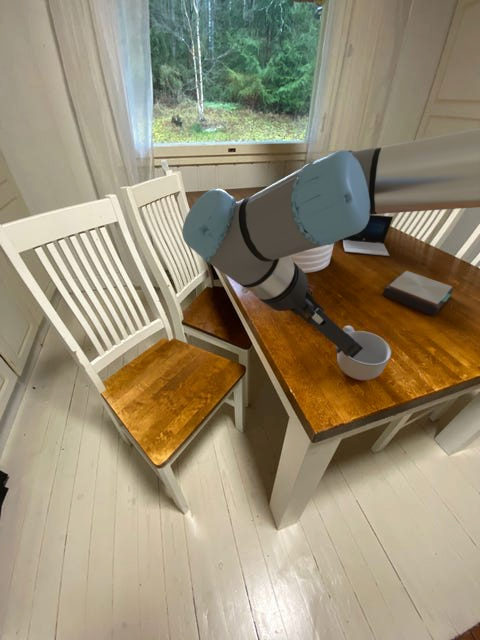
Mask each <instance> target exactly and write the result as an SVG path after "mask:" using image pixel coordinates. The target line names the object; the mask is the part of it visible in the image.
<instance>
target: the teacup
mask: <svg viewBox="0 0 480 640" xmlns="http://www.w3.org/2000/svg"><path fill="white" fill-rule="evenodd" d="M342 330H343V331H344V332H345V333H346V334H348V335H350V336H351V337H352V338H353V339H354V340H355V341H356V342H358V343H359V345H360V346H361V347H363V349H362V350H361V351H360V352H359V353H358V354H357V355H355V356H354V357H353V358H351V357H350V356H347V355H345V354H344V353H343V352H342V351H341V352H340V353H338V352H337V355H336V361H337V364H338V367H339V368H340V370H341V372H343V373H344V374H345V375H346V376H348V377H350V378H352V379H355V380H359V381H370V380H374V379H376V378H378V377H379V376H380V375H381V374H382V373H383V371H384V369H385V368H386V366H387V363H388V362H389V361H390V359H391V357H392V350H391V347H390V345H389V344H388V342H387V341H386V340H385V339H384V338H382V337H381V336H379V335H377V334H375V333H372V332H369V331H363V330H355V328H354V327H353V326H352V325H345V326H344V327H343V328H342Z"/></svg>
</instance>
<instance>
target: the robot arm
mask: <svg viewBox="0 0 480 640" xmlns="http://www.w3.org/2000/svg"><path fill="white" fill-rule="evenodd" d="M473 208H480V127H479V128H473V129H467V130H463V131H457V132H452V133H451V132H450V133H446V134H440V135H435V136H431V137H425V138H419V139H414V140H408V141H404V142H398V143H392V144H386V145H383V146H381V147H374V148H373V147H371V148H366V149H361V150H350V149H349V150H345V149H341V150H337V151H334V152H332V153H330V154H328V155H326V156H324V157H319V158H317V159H315V160H313V161H309V163H307V164H305V165H304V166H303V167H302V168H300V169H298V170H295V171H294V172H292V173H291V174H288V175H287V176H285V177H283V178H282V179H280V180H278V181H276V182H274V183H273V184H271V185H269V186H267V187H266V188H263V189H262V190H260V191H258V192H257V193H254V194H251V195H249V196H247V197H245V198H243V199H241V200H239V201H236V198H235V197H234V196H233V195H230V194H229V193H228V192H227V191H225V190H224V189H221V188H217V189H210V190H208V191H206V192H205V193H203V194H202V195H201V196H200V197H199V198H198V199H197V200H196V201H195V202H194V204H193V205H192V206H191V208H190V209H189V211H188V212H187V215H186V216H185V218H184V222H183V226H182V230H181V231H182V233H181V234H182V239H183V241H184V243H185V244H186V245H187V246H188V247H189V248H190V249H191V250H193V251H194V252H195V253H196V254H197V255H198V256H199V257H201V258H202V260H203V261H204V262H207V263H208V264H210V265H211V266H213V267H214V268H216V269H217V270H218V271H219V272H220V273H223V274H224V276H226V277H228V278H230V279H231V280H232V281H234V282H235V283H237V284H238V285H240V286H241V292H242V293H243V294H247V293H248V292H249V293H251V294H252V295H253V296H255V297H256V298H258V299H259V300H260V301H261V302H262V303H263V304H265V305H267V306H268V307H269V308H270V309H272V310H274V311H277V312H286V311H289V310H290V311H291V312H292V313H293V314H294V315H296V316H299V318H301V319H302V320H303V321H305V323H306V324H308V325H311V326H313V327H314V328H315V329H316V330H318V332H320V333H321V334H322V335H323V336H324V337H325V338H326V339H328V340H329V341H330V342H331V343H332V344H333V345H334V346H335V347H336V348H335V352H336V353H337V354H338V353H340V352H341V351H342V352H343V353H344V354H345V355H347V356H350V357H351V358H353V357H354V356H355V355H357V354H358V353H359V352H360V351H361V350H362V349H363V347H361V346H360V345H359V343H358V342H356V341H355V340H354V339H353V338H352V337H351V336H350V335H348V334H346V333H345V332H344V331H343V328H341V327H340V326H339V325H338V324H336V322H334V321H333V320H332V319H331V318H330V317H329V316H328V315H326V313H325V309H324V307H323V306H321V305H320V304H319V303H318V302H317V301H316V300H315V298H314V296H313V295H311V294H309V293H308V292H307V288H308V284H309V280H308V277H307V275H306V274H307V273H304V272H303V271H302V270H301V269H300V268H299V267H298V266H297V265H296V264H295V263H294V262H293V260H292V259H291V258H290V257H289V255H293V254H296V253H299V252H303V251H306V250H310V249H313V248H316V247H320V246H325V245H331V244H334V245H335V244H337V242H339V241H341V240H343V239H344V238H346V237H349V236H351V235H354V234H357V233H359V232H361V231H362V230H363V229H364V228H365V227H366V225H367V223H368V221H369V215H381V214H382V215H384V214H397V213H412V212H413V213H414V212H426V211H427V212H428V211H429V212H430V211H443V210H456V209H457V210H461V209H473Z"/></svg>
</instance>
